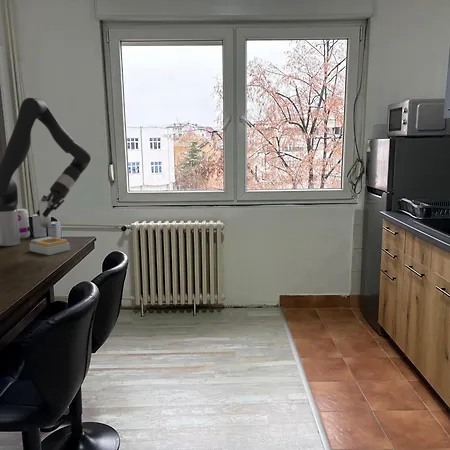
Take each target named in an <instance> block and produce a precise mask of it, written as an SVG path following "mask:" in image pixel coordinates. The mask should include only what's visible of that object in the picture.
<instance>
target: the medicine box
mask: <svg viewBox="0 0 450 450" xmlns="http://www.w3.org/2000/svg"><path fill="white" fill-rule="evenodd" d="M47 234H48V236H47V237H53V238H60V239H61V238H62V223H61V221H51V226H47Z"/></svg>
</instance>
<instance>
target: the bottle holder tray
mask: <svg viewBox="0 0 450 450" xmlns="http://www.w3.org/2000/svg"><path fill="white" fill-rule="evenodd" d="M28 245H29V251H30V252H34V253H38V254H42V255H47V256H51V255H55V254H60V253H64V252H67V251H71V245H70V242H68V240H67V239H65V238H64V239H63V238H61V237H60V238H53V237H48V236H46V237H38V238H34V239H31V240H30V243H29V244H28Z"/></svg>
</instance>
